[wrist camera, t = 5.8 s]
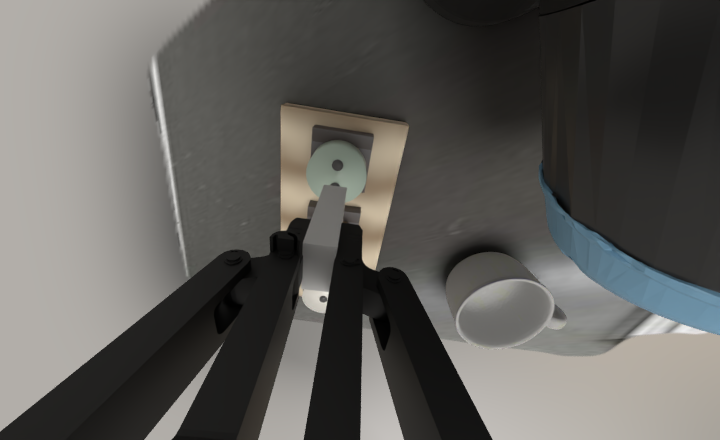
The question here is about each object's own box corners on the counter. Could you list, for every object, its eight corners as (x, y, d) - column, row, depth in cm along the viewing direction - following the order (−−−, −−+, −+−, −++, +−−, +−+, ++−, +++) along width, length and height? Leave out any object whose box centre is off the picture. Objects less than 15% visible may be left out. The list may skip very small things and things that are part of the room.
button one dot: (308, 260, 33) (302, 281, 29) (348, 265, 33) (346, 286, 30) (306, 289, 35) (301, 311, 32) (343, 294, 35) (341, 316, 32)
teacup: (424, 286, 38) (438, 335, 31) (469, 227, 33) (497, 270, 26) (502, 313, 40) (531, 364, 33) (555, 263, 35) (602, 311, 28)
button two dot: (314, 132, 23) (307, 141, 20) (370, 140, 24) (371, 152, 20) (311, 183, 26) (304, 200, 23) (361, 191, 26) (361, 208, 23)
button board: (286, 102, 26) (276, 107, 23) (406, 122, 26) (411, 129, 23) (284, 283, 37) (277, 302, 34) (367, 293, 38) (367, 312, 35)
